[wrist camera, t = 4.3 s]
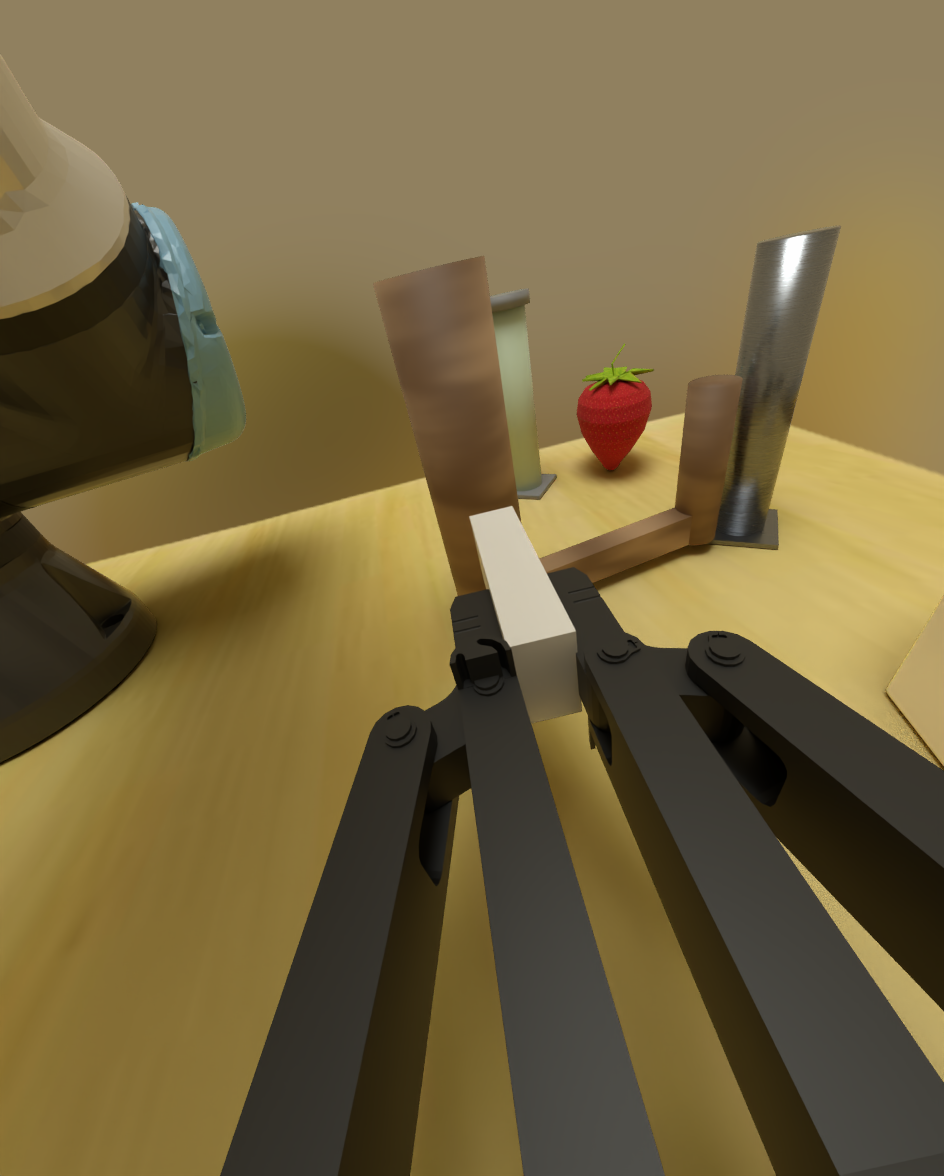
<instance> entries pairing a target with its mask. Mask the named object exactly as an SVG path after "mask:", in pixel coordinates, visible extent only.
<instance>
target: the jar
mask: <svg viewBox="0 0 944 1176" xmlns="http://www.w3.org/2000/svg"><path fill="white" fill-rule="evenodd" d="M886 691H887V694H888V695H889V697H890V698H891V699H892V701H893V702H894V703H895V704H896V706H897V707H898V708H899V709H900V711H901V712H902V713H903V715H904V716H905V717H906V718H907V720H908V721H909V722H910V724H911V725H912V726H913V727H914V729H915V730H916V731H917V733H918V734H919V735H920V737H921V738H922V739H923V740H924V742H925V743H926V744H927V746H928V747H929V748H930V749H931V751H932V752H933V753H934V755H935V756H936V757H937V758H938V760H939V761H940V762H941V764H942V765H943V766H944V595H943V597H942V599H941V600H940V602H939V603H938V605H937V607H936V608H935V610H934V612H933V613H932V615H931V617H930V618H929V620H928V621H927V623H926V625H925V626H924V628H923V630H922V631H921V633H920V634H919V636H918V638H917V639H916V641H915V643H914V644H913V646H912V647H911V649H910V651H909V652H908V654H907V656H906V657H905V659H904V661H903V662H902V664H901V665H900V667H899V669H898V670H897V672H896V674H895V675H894V677H893V678H892V680H891V682H890V683H889V685H888V687H887V689H886Z"/></svg>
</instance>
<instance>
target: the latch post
mask: <svg viewBox="0 0 944 1176" xmlns="http://www.w3.org/2000/svg"><path fill="white" fill-rule="evenodd" d="M490 301H491V308H492V316H493V323H494V330H495V337H496V345H497V352H498V359H499V366H500V373H501V381H502V388H503V395H504V402H505V410H506V417H507V424H508V431H509V438H510V446H511V453H512V460H513V467H514V475H515V482H516V489H517V496H518V498H524V499H541V497H542V496H543V495H544V493H545V492H546V491H547V489H548V488H549V487H550V485H551V484H552V483H553V481H554V480H555V479H556V478H557V476H556V474H541V467H540V457H539V447H538V436H537V426H536V416H535V406H534V396H533V387H532V376H531V366H530V355H529V346H528V335H527V325H526V316H525V304H528V303H530V298H529V289H521V290H516V291H511V292H506V293H502V294H498V295H494V296H490Z"/></svg>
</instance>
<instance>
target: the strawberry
mask: <svg viewBox="0 0 944 1176" xmlns="http://www.w3.org/2000/svg"><path fill="white" fill-rule="evenodd" d="M624 346H625V344H624V345H623V346H622V348H623V347H624ZM622 348H621V350H622ZM621 350H620V351H619V353H620V352H621ZM619 353H618V354H617V356H618V355H619ZM617 356H616V357H615V359H614V361H615V360H616V358H617ZM614 361H613V362H612V364H611V365H612V368H604V372H602V373H598V374H593V375H588V376H586V378H585V379H583V381H597V382H595V383H594V384H591V385H589V386H587V387H586V388H585V390H584V391H583V393H582V394H581V396H580V397H579V399H578V407H577V417H578V421H579V425H580V428H581V432H582V434H583V437H584V438H585V440H586V442H587V443H588V445H589V447H590V448H591V450H592V452H593V453H594V454H595V455H596V457H597V458H598V459H599V460H600V462H601V463H602V465H603V466H604V468H606V469H607V470H614V469H616V468H617V467H618V466H619V464H620V462H621V461H622V460H623V458H624V457H625V456H626V455H627V454H628V453H629V452H630V450H631V449H632V448H633V446H634V445H635V443H636V442H637V440H638V439H639V437H640V436H641V434H642V433H643V431H644V429H645V427H646V423H647V420H648V417H649V414H650V411H651V407H652V404H651V393H650V390H649V388H648V387H647V386H646V385H645V383H644V382H643V381H641V380H639V379H638V378H636V377H635V376H634V375H638V374H643V373H647V372H652V371H653V369H635V368H633V369H631V370H629V371H628V372H626V368H627V367H621V368H613V363H614ZM625 372H626V373H625Z"/></svg>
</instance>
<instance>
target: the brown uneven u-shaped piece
mask: <svg viewBox="0 0 944 1176" xmlns="http://www.w3.org/2000/svg"><path fill="white" fill-rule="evenodd" d="M373 285H374V289H375V293H376V297H377V300H378V304H379V308H380V311H381V315H382V319H383V322H384V326H385V330H386V333H387V337H388V341H389V344H390V348H391V352H392V355H393V359H394V363H395V366H396V370H397V374H398V377H399V381H400V385H401V389H402V392H403V395H404V399H405V403H406V407H407V410H408V414H409V418H410V422H411V425H412V429H413V432H414V436H415V440H416V443H417V447H418V451H419V455H420V458H421V461H422V466H423V469H424V473H425V477H426V480H427V484H428V488H429V491H430V495H431V499H432V502H433V506H434V510H435V513H436V517H437V521H438V524H439V528H440V532H441V535H442V539H443V543H444V546H445V550H446V554H447V557H448V561H449V565H450V568H451V572H452V576H453V580H454V583H455V587H456V591H457V594H458V596H461V595H465V594H469V593H473V592H477V591H482V590H486V586H485V583H484V579H483V574H482V570H481V566H480V561H479V557H478V552H477V548H476V544H475V539H474V535H473V530H472V526H471V522H470V517H469V516H473V515H477V514H481V513H485V512H489V511H493V510H497V509H501V508H506V507H510V506H512V507H513V508H514V510H515V512H516V514H517V516H518V518H519V520H520V522H521V518H520V511H519V504H518V496H517V489H516V482H515V475H514V467H513V460H512V453H511V446H510V438H509V431H508V424H507V417H506V410H505V402H504V395H503V388H502V381H501V373H500V366H499V359H498V352H497V345H496V337H495V330H494V323H493V316H492V308H491V301H490V295H489V287H488V280H487V273H486V265H485V258H484V256H480V257H475V258H470V259H466V260H461V261H457V262H452V263H448V264H444V265H440V266H435V267H432V268H428V269H423V270H419V271H416V272H411V273H408V274H403V275H400V276H396V277H392V278H388V279H385V280H381V281H378V282H375V283H373ZM742 380H743V378H742V377H740V376H736V375H713V376H706V377H701V378H698V379H695V380H692V381H690V382H689V383H688V390H687V399H686V409H685V418H684V428H683V437H682V446H681V456H680V465H679V474H678V484H677V493H676V502H675V508H672V509H670V510H667V511H664V512H662V513H659V514H656V515H654V516H651V517H648V518H646V519H643V520H640V521H638V522H635V523H632V524H630V525H627V526H625V527H622V528H619V529H617V530H614V531H611V532H609V533H606V534H603V535H601V536H598V537H595V538H593V539H590V540H587V541H585V542H582V543H580V544H577V545H574V546H572V547H569V548H566V549H564V550H561V551H558V552H556V553H553V554H550V555H548V556H545V557H542V558H540V559H539V560H540V561H541V563H542V565H543V567H544V569H545V571H546V573H551V572H555V571H559V570H563V569H567V568H572V567H575V568H576V569H578V570H580V571H581V572H583V573H585V574H586V575H587V576H588V577H589V579H590V580H591V582H592V583H594V582H596V581H599V580H601V579H604V578H606V577H609V576H611V575H614V574H616V573H619V572H621V571H624V570H626V569H629V568H631V567H634V566H637V565H639V564H642V563H644V562H647V561H649V560H652V559H654V558H657V557H659V556H662V555H664V554H667V553H669V552H672V551H674V550H677V549H679V548H682V547H684V546H687V545H703V544H707V543H709V542H711V541H712V540H713V539H714V538H715V533H716V527H717V521H718V516H719V510H720V504H721V499H722V493H723V487H724V482H725V476H726V471H727V465H728V459H729V454H730V448H731V442H732V437H733V431H734V426H735V420H736V414H737V409H738V403H739V397H740V392H741V386H742Z"/></svg>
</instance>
